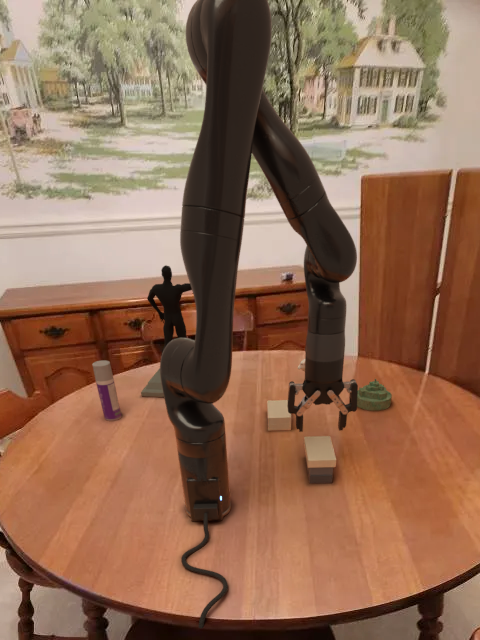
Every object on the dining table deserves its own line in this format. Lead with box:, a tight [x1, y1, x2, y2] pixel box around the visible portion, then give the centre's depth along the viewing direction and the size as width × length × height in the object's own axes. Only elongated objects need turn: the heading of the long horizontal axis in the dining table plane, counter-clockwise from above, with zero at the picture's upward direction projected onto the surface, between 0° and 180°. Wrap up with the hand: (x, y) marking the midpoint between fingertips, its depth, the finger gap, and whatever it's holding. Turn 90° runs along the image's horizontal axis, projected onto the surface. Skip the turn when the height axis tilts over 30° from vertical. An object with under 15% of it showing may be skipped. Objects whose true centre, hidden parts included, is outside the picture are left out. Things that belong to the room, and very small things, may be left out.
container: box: [91, 359, 122, 422], centre depth 131 cm, size 5×5×15 cm
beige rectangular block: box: [303, 435, 337, 468], centre depth 108 cm, size 11×6×2 cm, turn 0°
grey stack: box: [304, 454, 334, 485], centre depth 110 cm, size 11×5×4 cm, turn 0°
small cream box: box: [266, 399, 292, 432], centre depth 130 cm, size 11×6×4 cm, turn 0°
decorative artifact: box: [357, 378, 393, 412], centre depth 137 cm, size 10×7×10 cm
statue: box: [140, 264, 192, 398], centre depth 142 cm, size 20×19×36 cm
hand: (320, 429), depth 105 cm, fingers open, 8 cm apart
